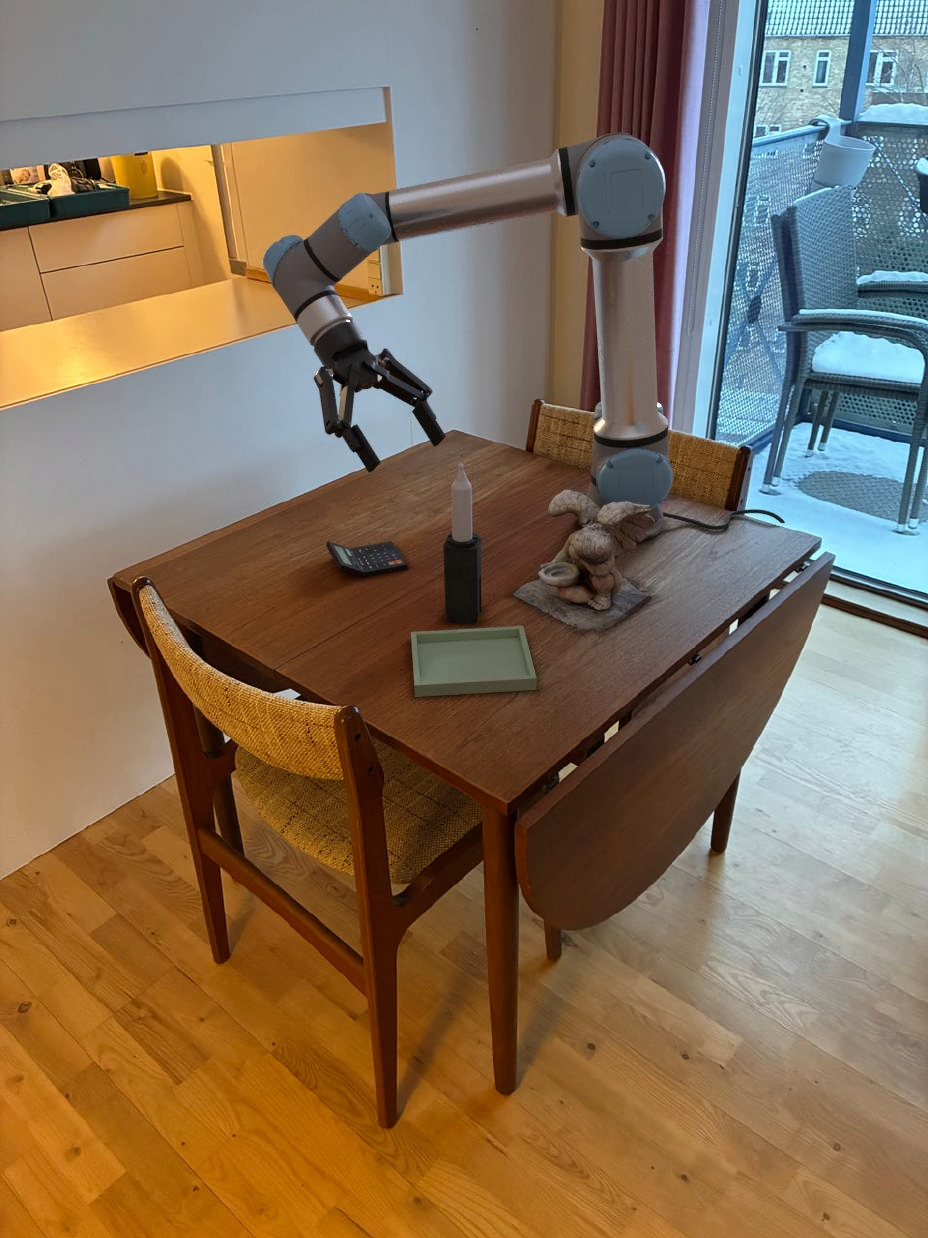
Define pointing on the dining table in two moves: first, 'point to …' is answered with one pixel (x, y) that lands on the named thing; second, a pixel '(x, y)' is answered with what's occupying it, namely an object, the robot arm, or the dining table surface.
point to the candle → (462, 558)
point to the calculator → (367, 558)
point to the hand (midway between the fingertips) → (408, 454)
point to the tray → (471, 661)
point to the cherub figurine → (591, 564)
